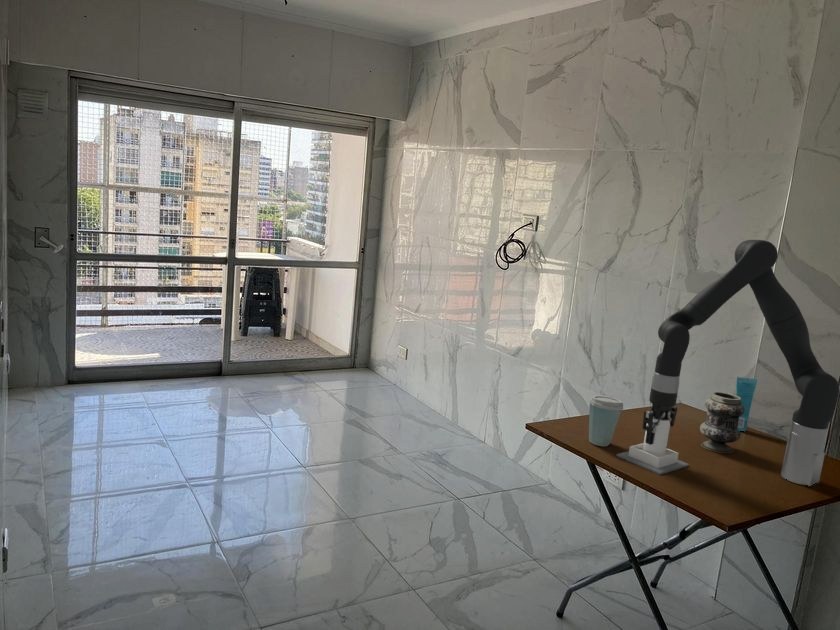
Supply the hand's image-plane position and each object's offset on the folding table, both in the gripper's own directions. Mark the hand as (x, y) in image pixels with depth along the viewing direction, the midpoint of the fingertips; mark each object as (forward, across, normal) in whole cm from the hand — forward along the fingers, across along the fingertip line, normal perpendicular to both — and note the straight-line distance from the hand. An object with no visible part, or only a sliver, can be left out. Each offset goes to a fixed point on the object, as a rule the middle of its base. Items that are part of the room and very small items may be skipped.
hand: (655, 441), depth 204 cm
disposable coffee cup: (+6, -3, +17) cm, 18 cm away
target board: (+6, 0, 0) cm, 6 cm away
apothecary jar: (+6, +32, -3) cm, 33 cm away
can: (+4, 0, 0) cm, 4 cm away
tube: (+6, +59, +4) cm, 59 cm away
